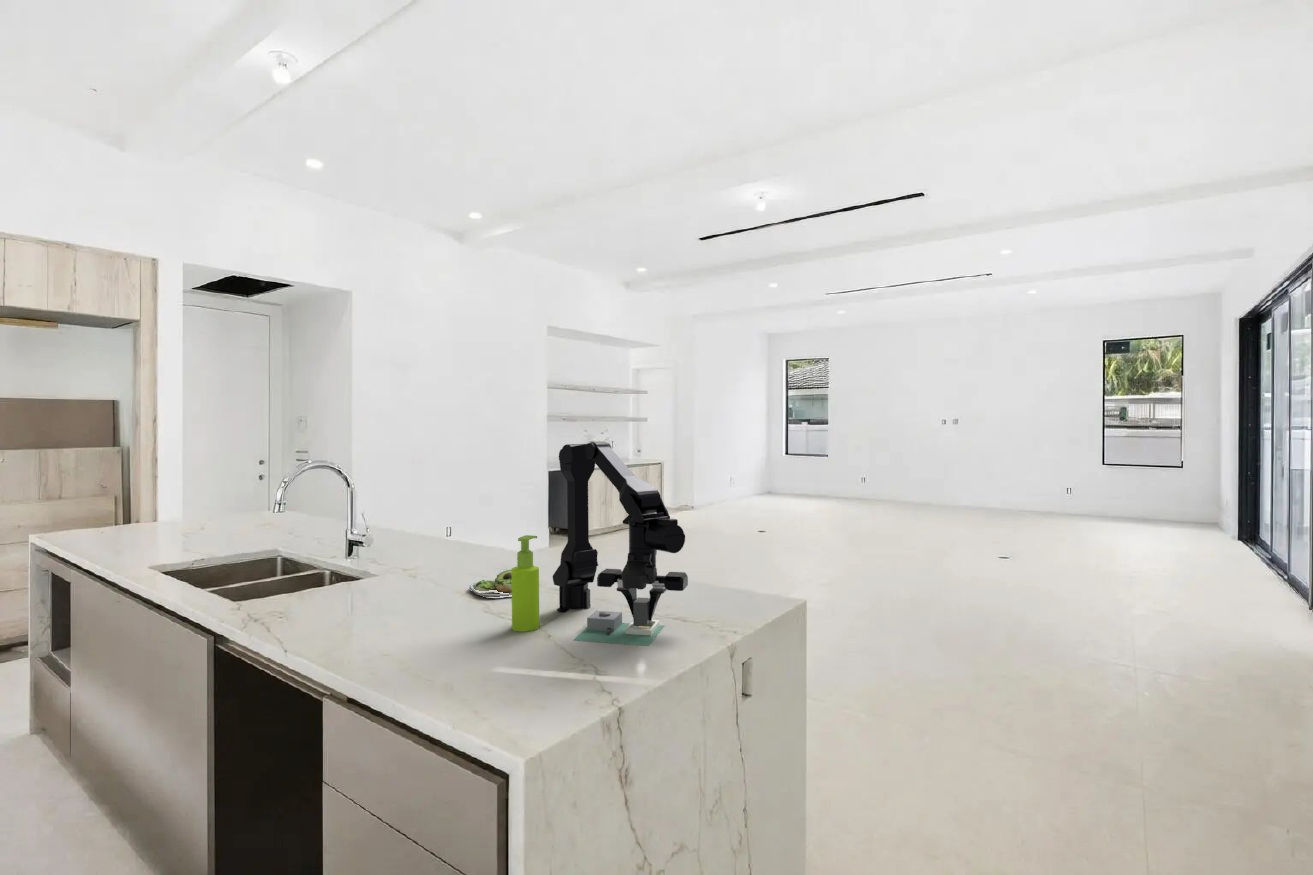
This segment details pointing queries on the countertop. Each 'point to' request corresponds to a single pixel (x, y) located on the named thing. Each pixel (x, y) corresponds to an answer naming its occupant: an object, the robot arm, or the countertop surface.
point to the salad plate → (495, 585)
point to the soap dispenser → (525, 589)
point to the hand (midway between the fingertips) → (642, 619)
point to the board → (617, 630)
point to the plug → (641, 612)
